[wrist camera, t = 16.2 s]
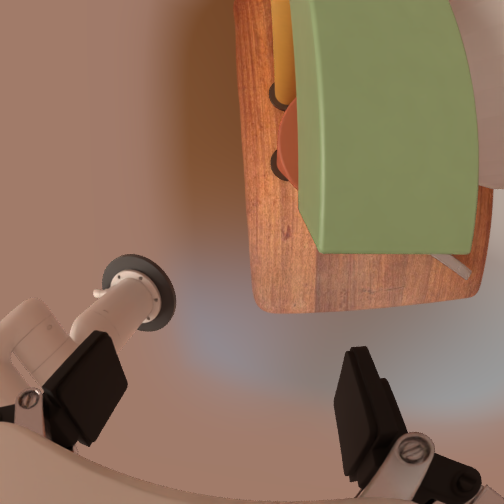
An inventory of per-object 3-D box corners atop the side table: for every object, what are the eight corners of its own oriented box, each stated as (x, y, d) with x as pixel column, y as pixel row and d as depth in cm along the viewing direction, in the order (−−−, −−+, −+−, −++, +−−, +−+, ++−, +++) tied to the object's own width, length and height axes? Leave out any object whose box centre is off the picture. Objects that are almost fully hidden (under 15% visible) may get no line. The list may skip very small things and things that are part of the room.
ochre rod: (269, 111, 41) (239, -58, 5) (268, 79, 39) (240, -105, 3) (305, 111, 40) (391, -42, 4) (304, 80, 38) (360, -96, 2)
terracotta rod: (270, 180, 44) (244, 244, 8) (270, 145, 42) (240, 51, 6) (306, 181, 44) (425, 247, 8) (306, 146, 42) (425, 70, 6)
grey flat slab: (457, 261, 45) (479, 275, 37) (452, 270, 46) (473, 285, 38) (395, 217, 44) (416, 228, 36) (389, 228, 45) (409, 241, 37)
